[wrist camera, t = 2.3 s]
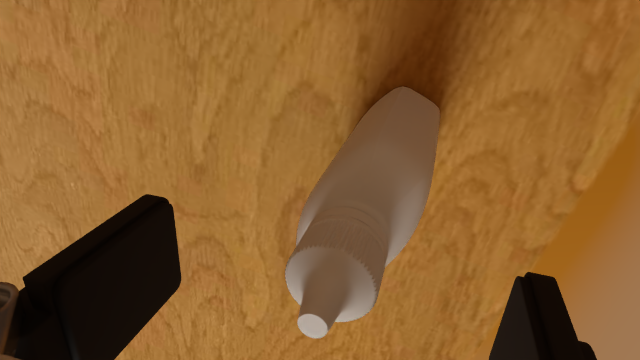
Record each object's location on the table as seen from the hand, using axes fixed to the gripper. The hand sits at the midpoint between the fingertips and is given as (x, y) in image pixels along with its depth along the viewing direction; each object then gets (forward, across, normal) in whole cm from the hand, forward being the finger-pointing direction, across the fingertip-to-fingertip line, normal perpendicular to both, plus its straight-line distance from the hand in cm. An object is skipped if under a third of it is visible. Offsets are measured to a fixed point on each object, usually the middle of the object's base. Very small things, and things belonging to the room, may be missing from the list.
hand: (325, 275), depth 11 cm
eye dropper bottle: (+10, 0, 0) cm, 10 cm away
